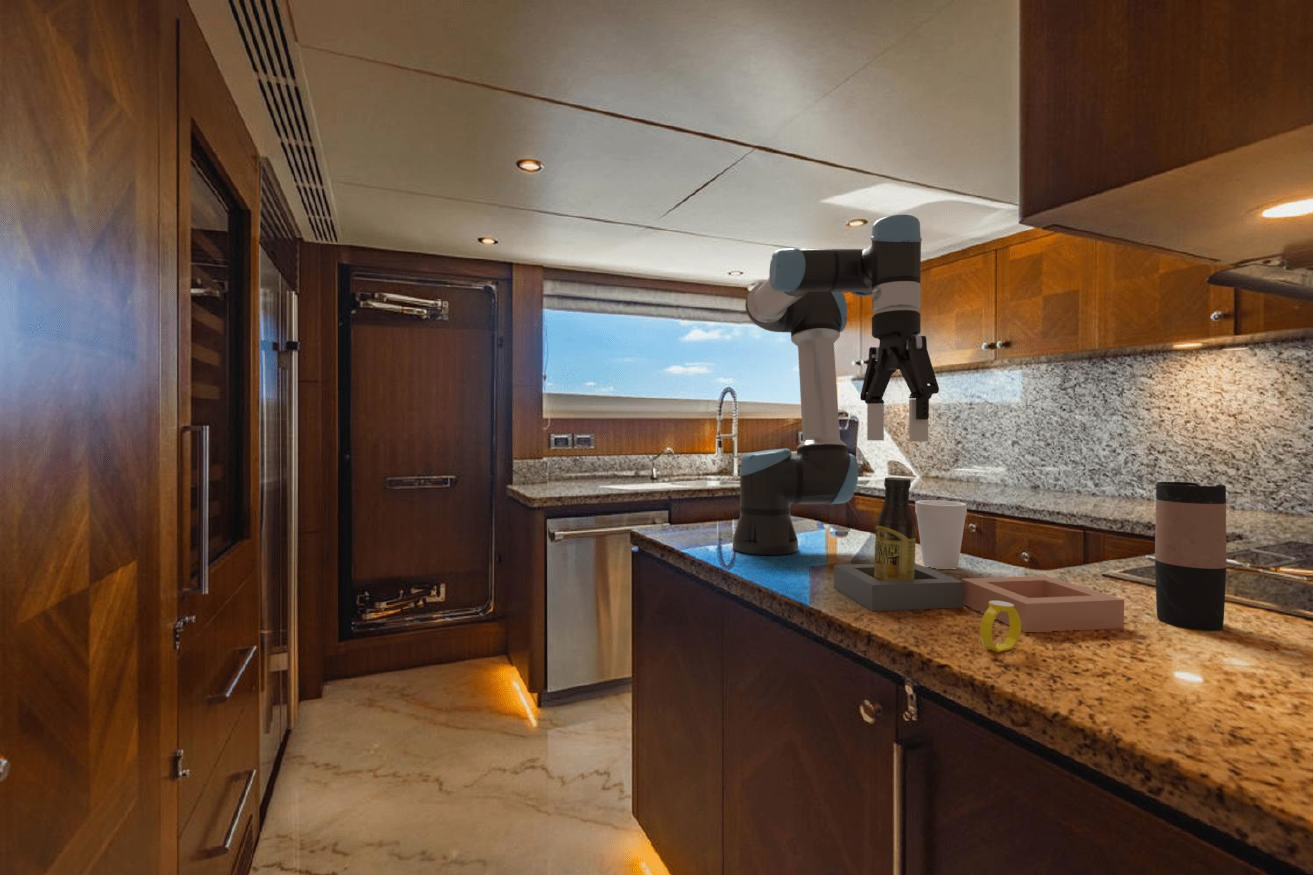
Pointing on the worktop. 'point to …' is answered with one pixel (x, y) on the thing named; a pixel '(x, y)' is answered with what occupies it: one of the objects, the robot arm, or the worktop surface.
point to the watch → (989, 620)
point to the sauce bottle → (895, 534)
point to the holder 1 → (898, 589)
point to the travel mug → (1190, 555)
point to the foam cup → (940, 532)
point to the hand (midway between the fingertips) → (895, 441)
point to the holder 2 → (1046, 603)
